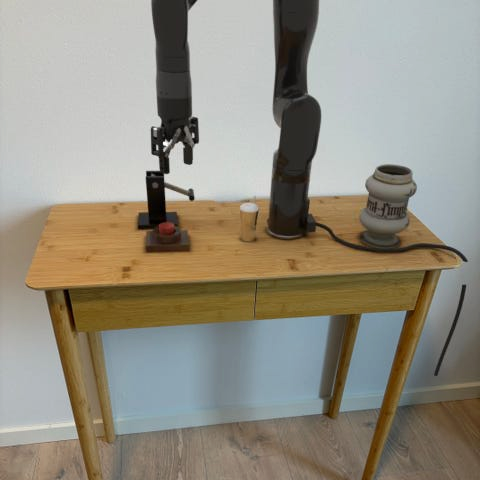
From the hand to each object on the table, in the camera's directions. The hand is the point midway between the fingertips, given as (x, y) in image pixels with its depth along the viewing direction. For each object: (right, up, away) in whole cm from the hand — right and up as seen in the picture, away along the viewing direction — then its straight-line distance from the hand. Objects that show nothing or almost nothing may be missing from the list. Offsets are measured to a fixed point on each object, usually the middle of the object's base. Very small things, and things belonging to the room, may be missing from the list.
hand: (176, 168), depth 115 cm
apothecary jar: (+50, -15, +10) cm, 53 cm away
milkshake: (+17, -15, +8) cm, 24 cm away
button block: (-3, -17, +4) cm, 18 cm away
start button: (-3, -14, +2) cm, 15 cm away
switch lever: (-3, -3, +9) cm, 10 cm away
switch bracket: (-7, -10, +14) cm, 18 cm away
